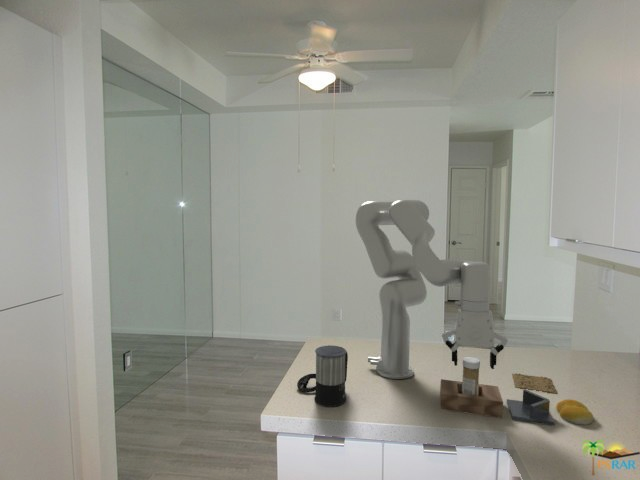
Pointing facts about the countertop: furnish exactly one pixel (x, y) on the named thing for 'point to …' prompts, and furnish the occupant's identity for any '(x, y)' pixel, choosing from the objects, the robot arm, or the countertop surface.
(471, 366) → the sprinkles bottle
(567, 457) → the countertop surface
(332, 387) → the milk frother
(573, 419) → the bread roll
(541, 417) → the v block
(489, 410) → the wooden block with hole
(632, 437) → the countertop surface
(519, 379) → the cookie
